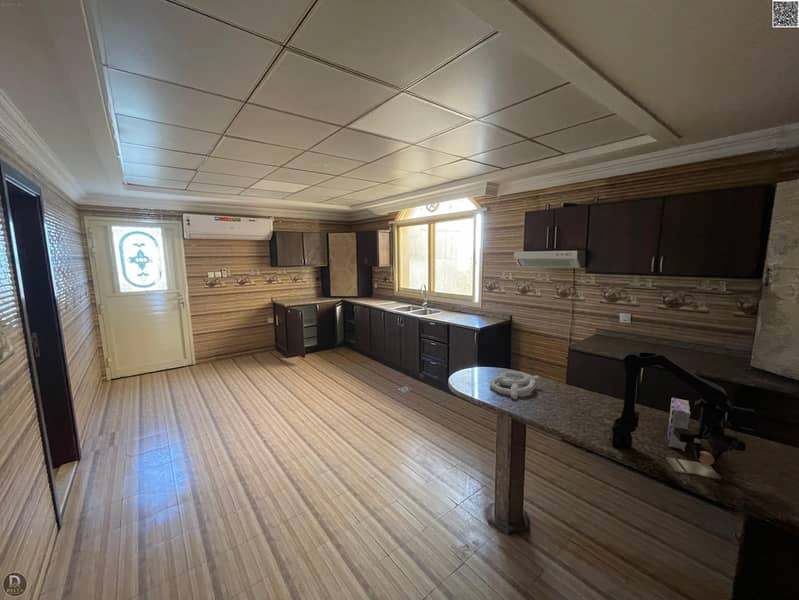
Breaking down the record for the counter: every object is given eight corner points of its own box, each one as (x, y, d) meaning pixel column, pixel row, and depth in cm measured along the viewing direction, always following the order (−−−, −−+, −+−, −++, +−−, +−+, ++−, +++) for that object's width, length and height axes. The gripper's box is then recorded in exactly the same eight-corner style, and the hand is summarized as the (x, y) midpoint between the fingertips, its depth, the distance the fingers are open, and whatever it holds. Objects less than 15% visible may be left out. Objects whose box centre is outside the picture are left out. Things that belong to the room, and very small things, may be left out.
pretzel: (520, 405, 173) (519, 394, 171) (483, 392, 191) (482, 382, 190) (545, 384, 190) (545, 374, 188) (509, 374, 208) (508, 365, 207)
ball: (700, 466, 117) (702, 454, 116) (694, 458, 121) (695, 447, 120) (716, 468, 115) (718, 457, 115) (709, 461, 120) (710, 450, 119)
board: (675, 471, 118) (675, 469, 118) (666, 458, 126) (666, 456, 126) (720, 479, 114) (721, 477, 114) (708, 465, 121) (708, 463, 121)
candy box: (667, 431, 144) (671, 396, 141) (684, 436, 140) (689, 400, 138) (667, 446, 133) (671, 408, 131) (686, 451, 130) (691, 413, 127)
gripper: (690, 427, 111) (684, 469, 114) (761, 437, 105) (754, 480, 108) (675, 412, 122) (670, 450, 124) (739, 420, 116) (732, 460, 118)
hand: (705, 460), depth 118 cm, fingers closed on ball, 4 cm apart
